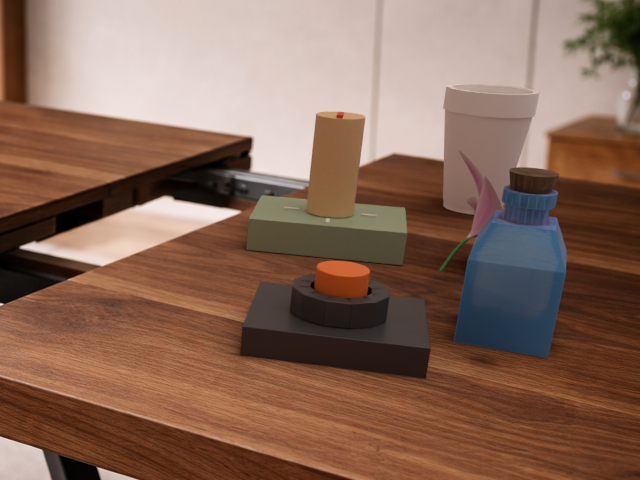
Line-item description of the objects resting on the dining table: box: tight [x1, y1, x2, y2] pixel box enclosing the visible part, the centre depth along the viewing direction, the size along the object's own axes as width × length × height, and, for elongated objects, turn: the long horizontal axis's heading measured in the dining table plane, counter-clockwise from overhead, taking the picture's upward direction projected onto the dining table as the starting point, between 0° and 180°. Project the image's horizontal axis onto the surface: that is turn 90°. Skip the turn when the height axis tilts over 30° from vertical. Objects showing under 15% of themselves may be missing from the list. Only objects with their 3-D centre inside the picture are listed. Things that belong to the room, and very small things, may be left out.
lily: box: [438, 150, 505, 273], centre depth 82 cm, size 12×12×10 cm
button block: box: [239, 273, 432, 379], centre depth 66 cm, size 12×10×4 cm
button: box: [314, 260, 371, 298], centre depth 65 cm, size 4×4×2 cm
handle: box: [306, 111, 366, 218], centre depth 88 cm, size 4×4×9 cm
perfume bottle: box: [453, 166, 568, 359], centre depth 67 cm, size 6×6×12 cm
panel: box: [245, 194, 408, 266], centre depth 90 cm, size 14×10×3 cm
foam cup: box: [442, 83, 540, 216], centre depth 104 cm, size 10×9×13 cm
